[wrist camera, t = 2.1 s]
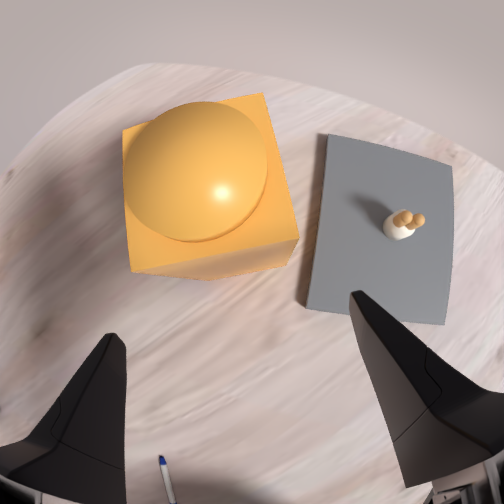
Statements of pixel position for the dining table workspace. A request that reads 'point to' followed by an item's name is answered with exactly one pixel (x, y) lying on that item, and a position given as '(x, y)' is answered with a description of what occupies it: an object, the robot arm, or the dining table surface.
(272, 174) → the orange knob block
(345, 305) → the plain gray block
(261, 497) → the dining table surface
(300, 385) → the dining table surface
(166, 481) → the ballpoint pen
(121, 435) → the robot arm
